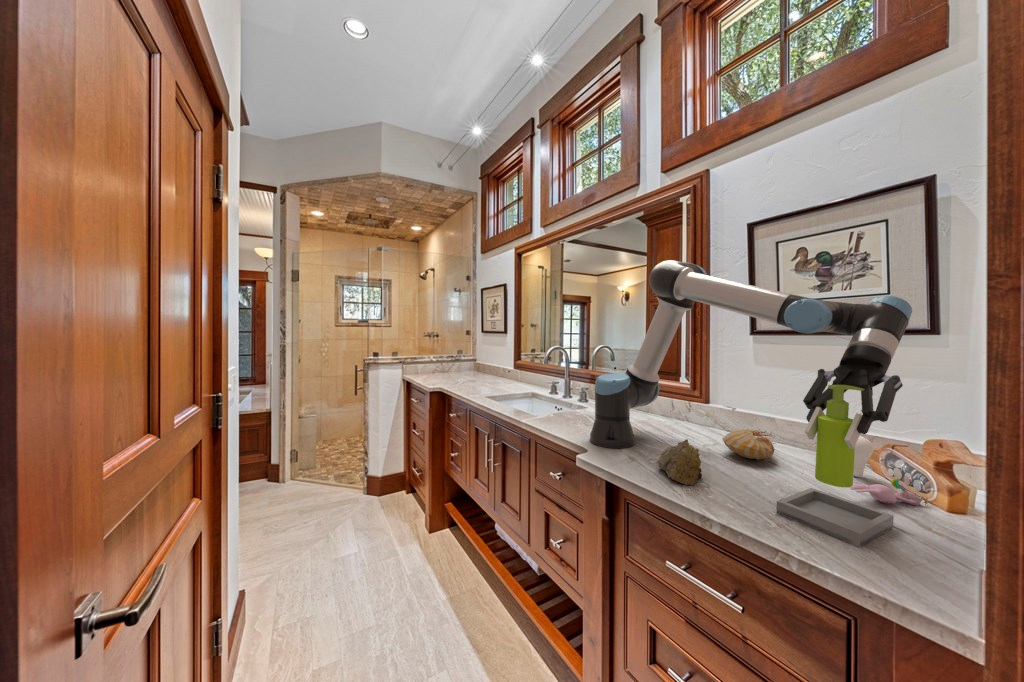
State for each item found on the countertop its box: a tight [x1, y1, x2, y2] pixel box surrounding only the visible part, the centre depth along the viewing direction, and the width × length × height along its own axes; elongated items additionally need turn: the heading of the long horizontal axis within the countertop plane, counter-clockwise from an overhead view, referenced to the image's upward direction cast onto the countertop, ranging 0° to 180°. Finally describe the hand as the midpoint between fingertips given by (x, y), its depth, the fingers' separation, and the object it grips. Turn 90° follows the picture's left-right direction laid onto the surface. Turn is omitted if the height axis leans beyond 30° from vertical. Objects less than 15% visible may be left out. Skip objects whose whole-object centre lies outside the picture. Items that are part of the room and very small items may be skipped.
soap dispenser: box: [814, 384, 865, 488], centre depth 75 cm, size 6×7×20 cm
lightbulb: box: [853, 435, 875, 478], centre depth 98 cm, size 6×6×11 cm
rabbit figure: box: [850, 478, 929, 506], centre depth 84 cm, size 6×6×15 cm
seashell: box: [656, 438, 703, 486], centre depth 100 cm, size 11×14×10 cm
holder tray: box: [776, 487, 894, 548], centre depth 77 cm, size 14×14×3 cm
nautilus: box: [722, 428, 776, 462], centre depth 114 cm, size 8×22×15 cm
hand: (828, 439), depth 74 cm, fingers closed on soap dispenser, 6 cm apart
